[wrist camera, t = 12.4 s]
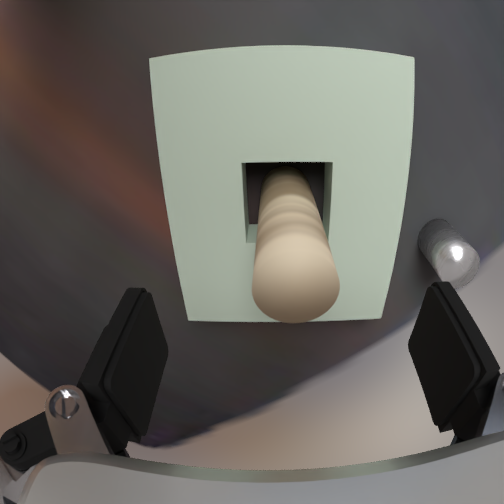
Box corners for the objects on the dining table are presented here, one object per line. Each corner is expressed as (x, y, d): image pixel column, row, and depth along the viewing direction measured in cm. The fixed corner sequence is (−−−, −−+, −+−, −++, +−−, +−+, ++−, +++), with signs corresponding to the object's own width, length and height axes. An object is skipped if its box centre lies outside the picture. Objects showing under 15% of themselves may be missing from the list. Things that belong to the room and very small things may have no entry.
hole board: (164, 60, 18) (149, 58, 16) (396, 59, 17) (414, 57, 15) (195, 298, 28) (188, 320, 26) (372, 296, 27) (380, 318, 25)
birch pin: (260, 166, 22) (249, 252, 12) (309, 166, 22) (344, 251, 11) (262, 211, 24) (253, 323, 13) (308, 211, 24) (334, 322, 13)
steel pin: (421, 218, 23) (448, 248, 19) (455, 219, 23) (484, 248, 19) (414, 255, 25) (436, 289, 21) (446, 254, 25) (471, 287, 20)
